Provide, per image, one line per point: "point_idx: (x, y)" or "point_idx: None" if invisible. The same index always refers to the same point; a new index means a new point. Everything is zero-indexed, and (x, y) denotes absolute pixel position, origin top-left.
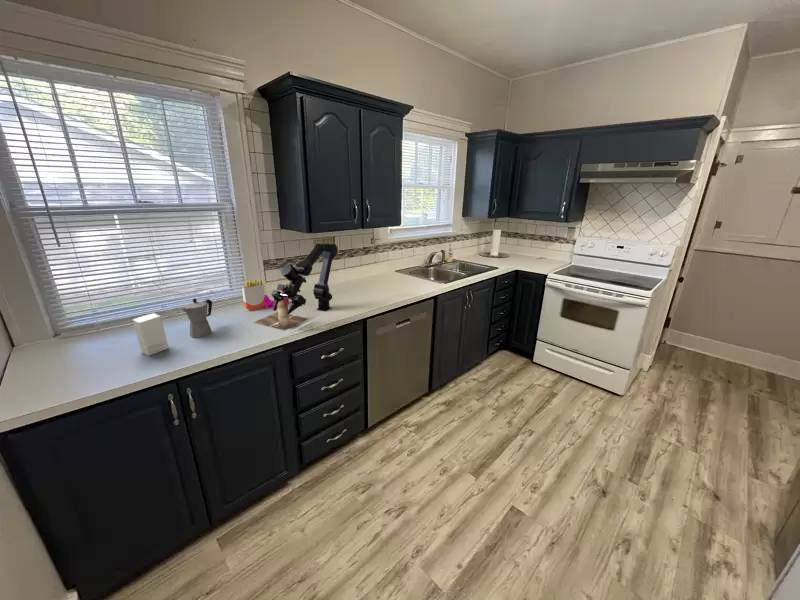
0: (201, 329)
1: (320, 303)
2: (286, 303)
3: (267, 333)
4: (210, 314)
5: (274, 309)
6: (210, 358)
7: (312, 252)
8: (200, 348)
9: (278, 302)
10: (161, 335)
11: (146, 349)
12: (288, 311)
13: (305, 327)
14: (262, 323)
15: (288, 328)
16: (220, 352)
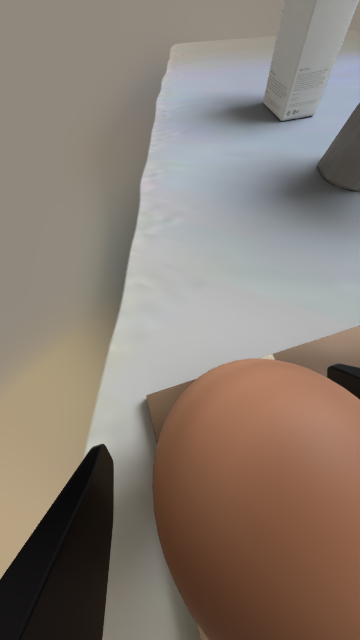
0: (341, 137)
1: None
2: (199, 618)
3: (204, 322)
4: None
5: (338, 376)
6: (148, 159)
7: None
8: (231, 156)
9: (352, 402)
10: (294, 53)
11: (268, 78)
12: (81, 468)
13: (108, 581)
14: (346, 348)
15: (157, 433)
16: (164, 177)
